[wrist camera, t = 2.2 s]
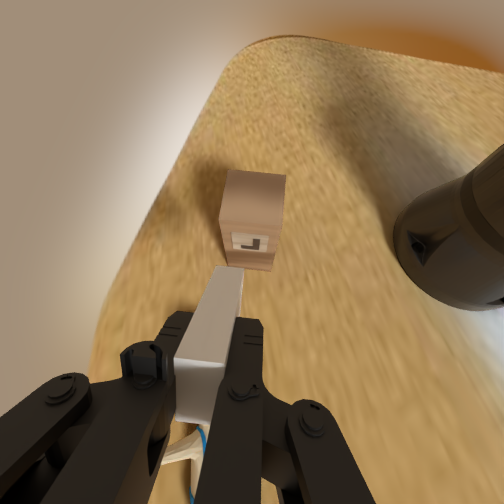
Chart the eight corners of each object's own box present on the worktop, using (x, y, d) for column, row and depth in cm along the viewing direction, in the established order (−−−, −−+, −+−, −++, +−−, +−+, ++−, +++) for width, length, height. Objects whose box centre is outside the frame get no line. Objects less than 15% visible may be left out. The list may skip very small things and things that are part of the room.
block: (270, 273, 30) (282, 228, 20) (228, 268, 30) (217, 222, 20) (273, 233, 32) (285, 174, 22) (234, 229, 32) (227, 169, 22)
